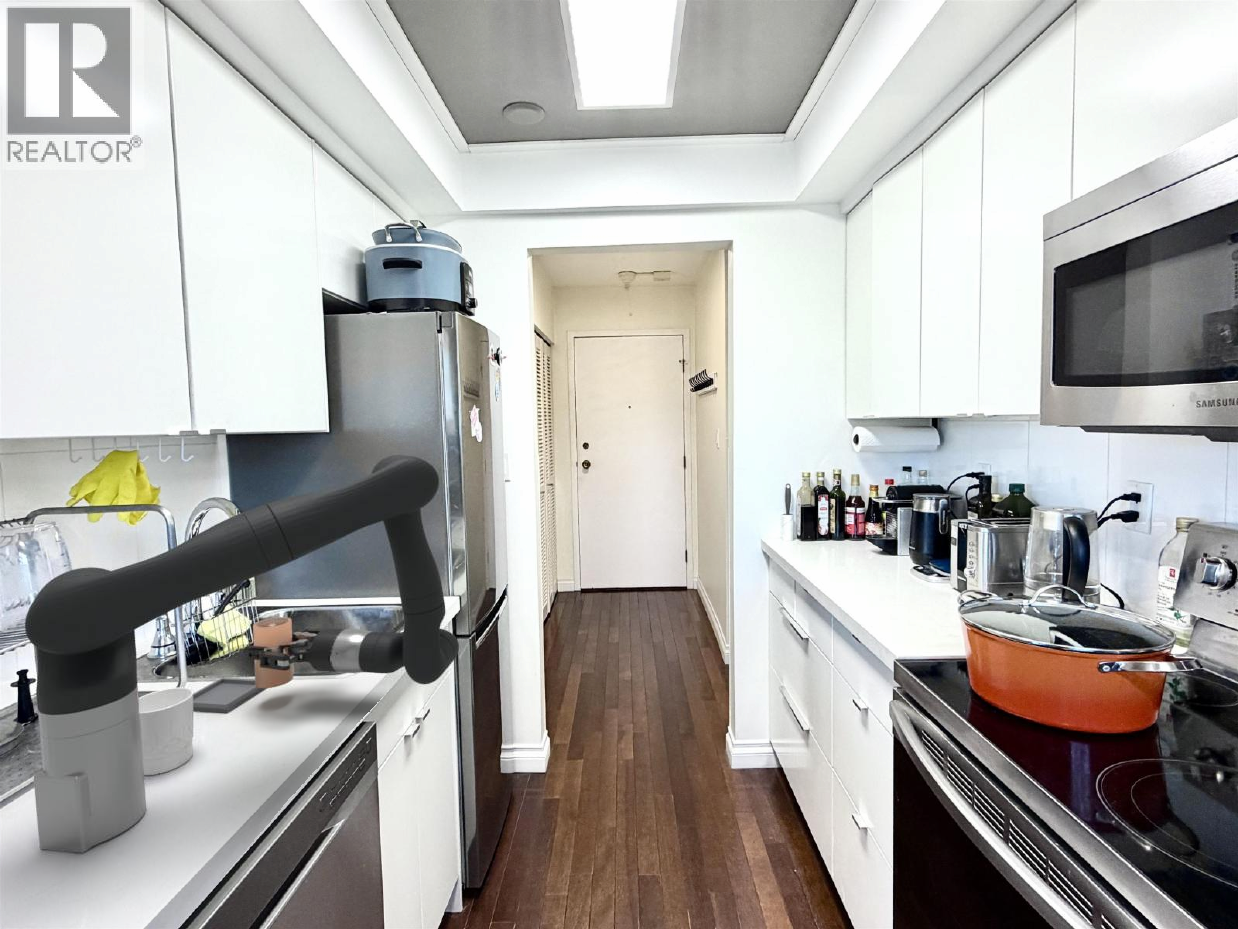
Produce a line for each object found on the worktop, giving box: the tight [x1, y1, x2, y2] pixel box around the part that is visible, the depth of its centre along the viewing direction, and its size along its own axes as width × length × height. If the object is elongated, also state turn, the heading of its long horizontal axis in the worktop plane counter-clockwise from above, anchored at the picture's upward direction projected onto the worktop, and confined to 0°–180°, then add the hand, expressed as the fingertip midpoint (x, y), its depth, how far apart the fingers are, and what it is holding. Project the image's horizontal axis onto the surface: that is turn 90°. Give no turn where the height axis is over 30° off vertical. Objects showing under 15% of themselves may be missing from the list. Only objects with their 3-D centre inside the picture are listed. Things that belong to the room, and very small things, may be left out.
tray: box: [193, 677, 267, 714], centre depth 105 cm, size 10×10×2 cm
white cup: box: [138, 687, 195, 776], centre depth 85 cm, size 8×8×10 cm
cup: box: [252, 616, 294, 689], centre depth 103 cm, size 6×6×11 cm
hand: (261, 645), depth 103 cm, fingers closed on cup, 6 cm apart
